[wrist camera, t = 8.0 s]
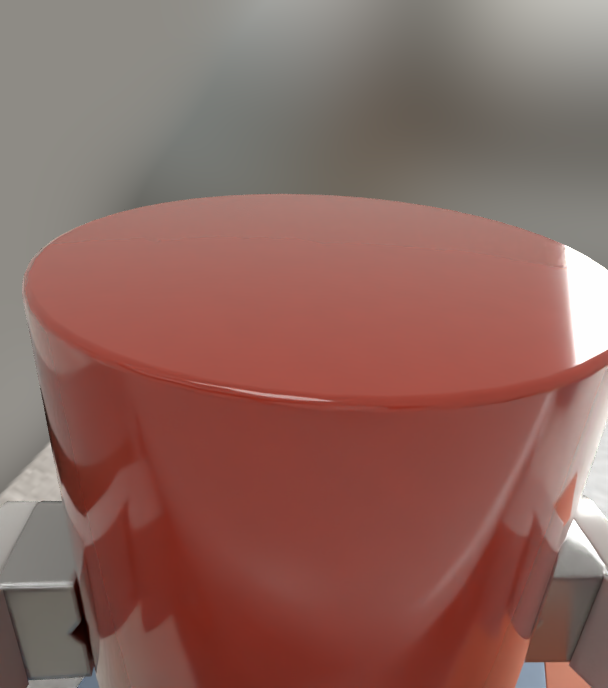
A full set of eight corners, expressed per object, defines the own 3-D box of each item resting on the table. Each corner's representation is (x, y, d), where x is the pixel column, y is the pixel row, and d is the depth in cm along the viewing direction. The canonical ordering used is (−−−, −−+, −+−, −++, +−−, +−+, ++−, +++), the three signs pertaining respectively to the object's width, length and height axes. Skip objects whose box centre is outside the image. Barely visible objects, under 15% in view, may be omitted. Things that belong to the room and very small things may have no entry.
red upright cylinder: (49, 904, 9) (-164, 307, 4) (217, 594, 14) (202, 178, 9) (443, 1101, 7) (767, 501, 3) (466, 671, 12) (590, 220, 8)
